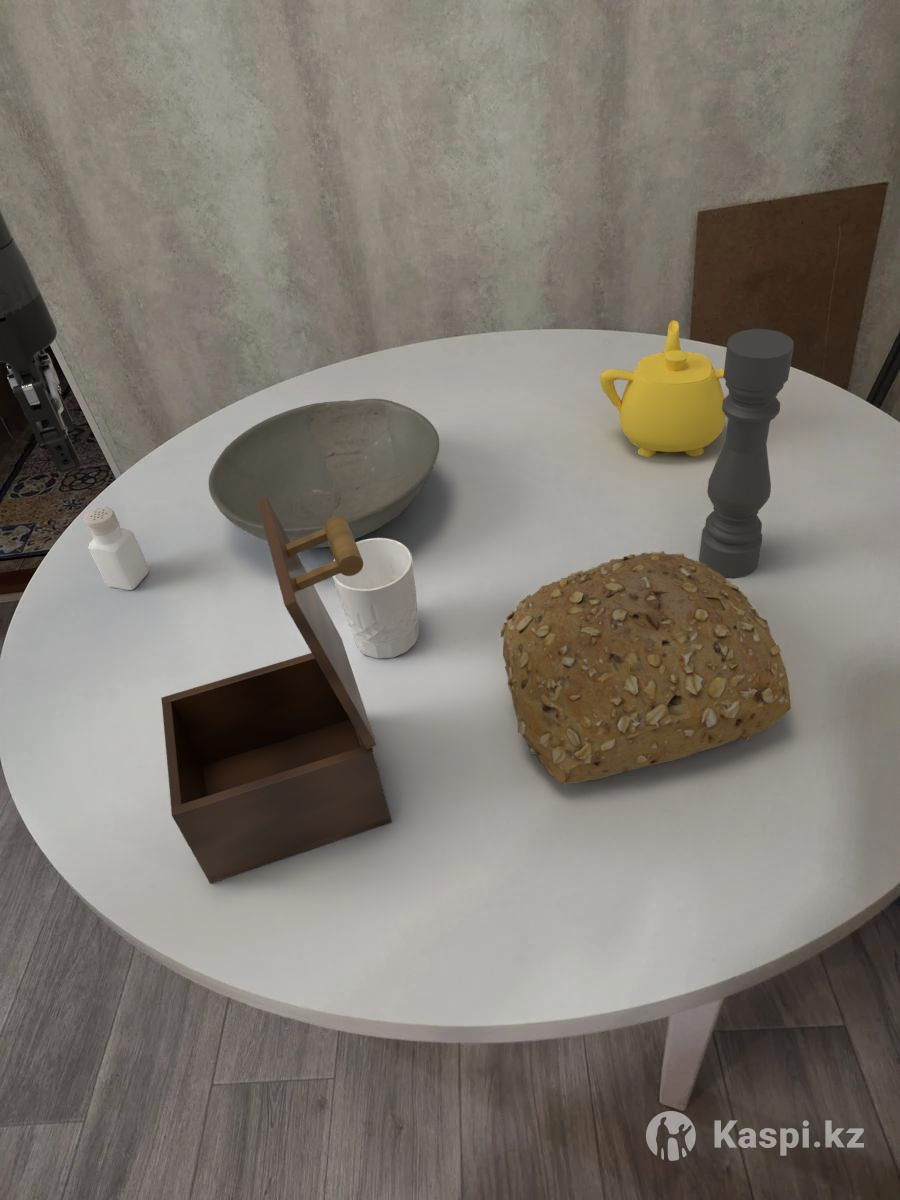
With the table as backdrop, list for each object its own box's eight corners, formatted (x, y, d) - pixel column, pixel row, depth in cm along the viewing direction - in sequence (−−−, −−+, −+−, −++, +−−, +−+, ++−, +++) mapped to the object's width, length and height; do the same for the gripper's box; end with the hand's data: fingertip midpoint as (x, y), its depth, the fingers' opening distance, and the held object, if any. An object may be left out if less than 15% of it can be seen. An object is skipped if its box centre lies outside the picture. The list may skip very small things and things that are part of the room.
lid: (284, 605, 55) (365, 571, 55) (256, 500, 64) (326, 471, 65) (367, 749, 66) (434, 720, 67) (333, 642, 76) (392, 617, 76)
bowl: (484, 469, 111) (479, 413, 105) (373, 609, 93) (360, 550, 88) (310, 435, 122) (297, 382, 116) (181, 554, 104) (158, 499, 99)
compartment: (209, 883, 71) (171, 815, 64) (195, 767, 80) (161, 697, 73) (392, 822, 73) (373, 751, 67) (358, 716, 82) (338, 644, 76)
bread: (696, 587, 91) (707, 493, 83) (810, 739, 75) (838, 642, 67) (474, 646, 88) (463, 555, 80) (545, 818, 72) (541, 726, 64)
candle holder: (722, 534, 97) (752, 321, 80) (770, 558, 93) (812, 340, 76) (686, 560, 94) (709, 345, 77) (734, 586, 90) (768, 367, 73)
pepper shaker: (124, 566, 104) (94, 502, 97) (152, 570, 103) (124, 506, 96) (105, 588, 101) (73, 523, 95) (133, 593, 100) (103, 527, 93)
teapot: (751, 434, 111) (764, 348, 103) (675, 481, 105) (683, 394, 97) (667, 397, 119) (673, 315, 111) (593, 439, 113) (594, 356, 105)
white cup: (437, 619, 91) (425, 546, 84) (403, 671, 86) (388, 598, 79) (372, 603, 94) (356, 531, 87) (336, 653, 89) (315, 580, 82)
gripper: (-46, 282, 83) (27, 428, 94) (-49, 338, 73) (33, 494, 84) (34, 262, 85) (97, 408, 96) (42, 314, 75) (111, 471, 85)
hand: (67, 448), depth 90 cm, fingers open, 8 cm apart
